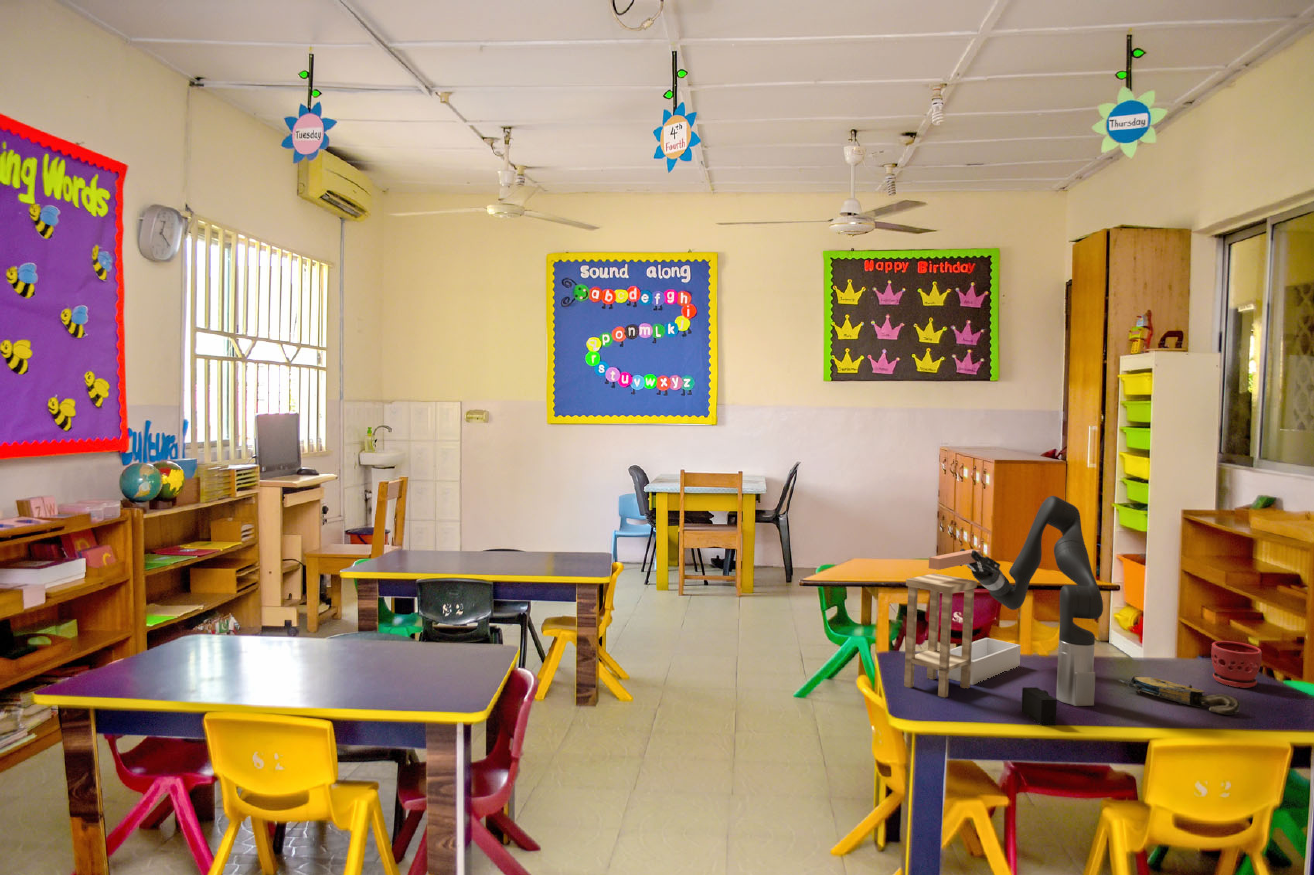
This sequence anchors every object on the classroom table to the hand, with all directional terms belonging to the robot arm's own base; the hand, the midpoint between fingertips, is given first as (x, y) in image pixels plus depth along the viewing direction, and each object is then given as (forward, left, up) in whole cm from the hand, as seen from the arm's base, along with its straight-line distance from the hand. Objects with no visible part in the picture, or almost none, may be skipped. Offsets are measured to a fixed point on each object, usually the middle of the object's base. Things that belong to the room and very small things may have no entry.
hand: (967, 552), depth 270 cm
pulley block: (-27, -54, -39) cm, 72 cm away
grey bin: (+6, -10, -39) cm, 41 cm away
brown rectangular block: (-4, +6, -3) cm, 8 cm away
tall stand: (-8, +13, -39) cm, 42 cm away
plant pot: (-14, -85, -39) cm, 95 cm away
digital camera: (-36, -2, -39) cm, 53 cm away
